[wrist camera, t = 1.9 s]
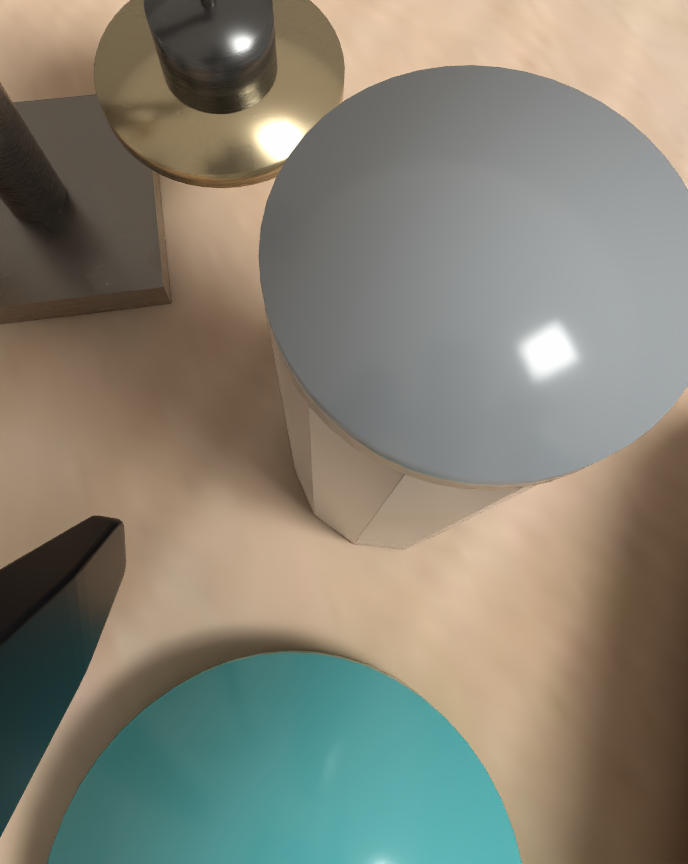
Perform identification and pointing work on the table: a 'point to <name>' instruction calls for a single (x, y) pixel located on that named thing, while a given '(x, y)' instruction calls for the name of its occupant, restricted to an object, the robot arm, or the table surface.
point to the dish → (287, 775)
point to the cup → (469, 296)
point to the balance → (152, 144)
